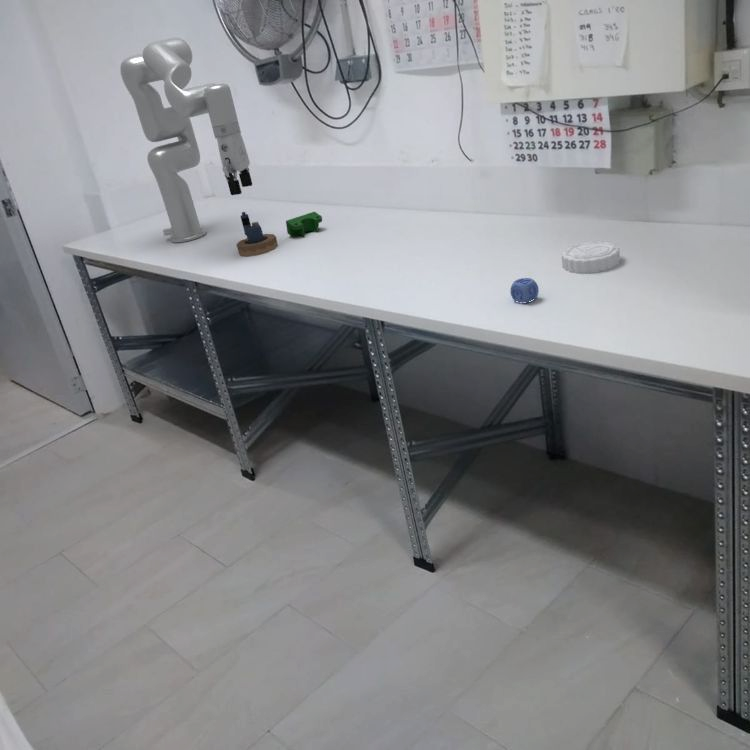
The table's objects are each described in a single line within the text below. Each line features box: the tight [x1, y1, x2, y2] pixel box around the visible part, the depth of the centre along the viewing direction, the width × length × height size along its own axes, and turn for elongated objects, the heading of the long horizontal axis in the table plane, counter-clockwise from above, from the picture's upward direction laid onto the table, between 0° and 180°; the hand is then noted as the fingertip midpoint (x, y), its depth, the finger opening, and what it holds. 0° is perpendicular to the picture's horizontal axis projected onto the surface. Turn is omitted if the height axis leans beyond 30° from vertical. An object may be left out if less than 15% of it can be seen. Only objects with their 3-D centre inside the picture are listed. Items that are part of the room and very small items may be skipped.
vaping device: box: [240, 211, 264, 244], centre depth 222 cm, size 3×5×12 cm, turn 108°
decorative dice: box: [510, 277, 540, 302], centre depth 147 cm, size 4×4×4 cm
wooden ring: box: [236, 233, 279, 257], centre depth 224 cm, size 12×12×3 cm
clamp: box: [285, 211, 323, 238], centre depth 230 cm, size 11×6×8 cm, turn 117°
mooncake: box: [561, 241, 621, 274], centre depth 158 cm, size 12×12×4 cm
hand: (242, 190), depth 217 cm, fingers open, 9 cm apart
